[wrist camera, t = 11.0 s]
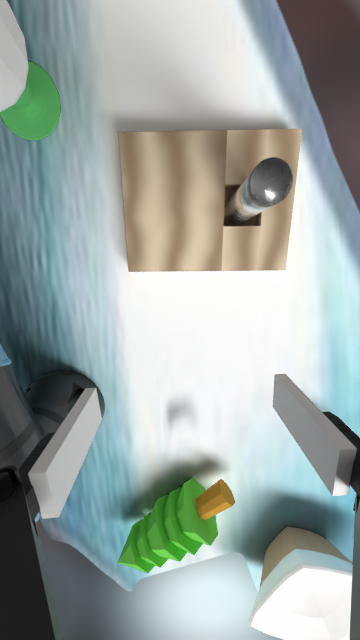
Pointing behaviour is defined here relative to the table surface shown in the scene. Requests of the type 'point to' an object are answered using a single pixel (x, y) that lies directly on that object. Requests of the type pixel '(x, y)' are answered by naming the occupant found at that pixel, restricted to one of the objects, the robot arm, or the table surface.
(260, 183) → the pin
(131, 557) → the decorative tree
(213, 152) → the board
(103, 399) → the robot arm
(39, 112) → the cup
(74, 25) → the table surface
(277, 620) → the bowl
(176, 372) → the table surface
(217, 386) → the table surface
